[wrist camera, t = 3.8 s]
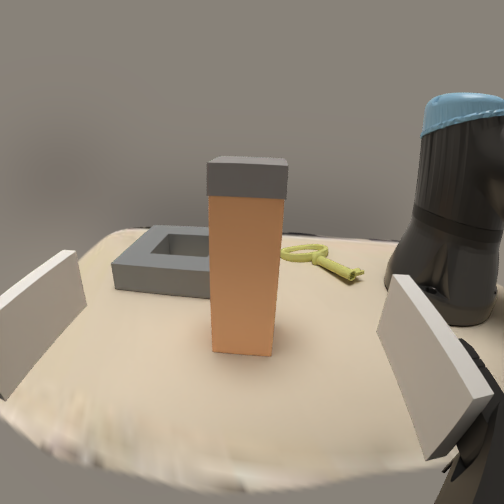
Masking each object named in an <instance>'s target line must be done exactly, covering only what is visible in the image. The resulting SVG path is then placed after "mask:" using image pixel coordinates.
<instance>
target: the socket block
mask: <svg viewBox="0 0 504 504" xmlns="http://www.w3.org/2000/svg"><path fill="white" fill-rule="evenodd" d="M111 266H112V273H113V278H114V284H115V289H121V290H130V291H138V292H147V293H156V294H166V295H176V296H186V297H197V298H209V299H210V268H209V227H189V226H166V225H154V226H152V227H151V228H150V229H149V230H148V231H147V232H145V233H144V234H143V235H142V236H141V237H140V238H139V239H138V240H136V241H135V242H134V243H133V244H132V245H131V246H130V247H129V248H127V249H126V250H125V251H124V252H123V253H122V254H121V255H120V256H119V257H118V258H116V259H115V260H114V261H113V262H112V263H111Z"/></svg>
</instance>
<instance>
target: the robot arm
mask: <svg viewBox="0 0 504 504" xmlns="http://www.w3.org/2000/svg"><path fill="white" fill-rule="evenodd" d="M420 139H422V140H421V152H420V161H419V171H418V179H417V187H416V193H415V200H414V207H413V213H412V218H411V221H410V224H409V226H408V227H407V229H406V231H405V233H404V235H403V236H402V238H401V240H400V242H399V244H398V245H397V247H396V249H395V251H394V252H393V254H392V256H391V258H390V259H389V262H388V265H387V270H386V274H385V278H384V281H385V285H386V287H387V289H388V293H387V297H386V301H385V304H384V308H383V311H382V315H381V318H380V321H379V324H378V328H377V331H376V332H377V334H378V336H379V339H380V341H381V343H382V346H383V348H384V350H385V353H386V355H387V358H388V360H389V362H390V365H391V367H392V370H393V372H394V375H395V377H396V380H397V382H398V385H399V387H400V390H401V392H402V395H403V398H404V400H405V403H406V406H407V408H408V411H409V414H410V416H411V419H412V422H413V425H414V428H415V431H416V433H417V436H418V439H419V442H420V445H421V448H422V451H423V454H424V458H425V461H428V460H432V459H436V458H440V457H444V456H446V455H447V454H448V453H449V452H450V451H451V450H452V449H453V447H454V446H455V445H457V448H458V450H459V453H458V454H457V455H456V456H455V457H454V458H453V459H452V461H451V462H450V463H449V464H448V465H447V466H446V467H445V468H444V469H443V471H442V472H443V473H445V472H446V471H447V470H448V469H449V468H450V467H451V468H450V471H449V473H448V475H447V477H446V480H445V482H444V484H443V486H442V488H441V491H440V493H439V495H438V497H437V499H436V501H435V503H434V504H504V393H503V392H502V390H501V388H500V387H499V385H498V384H497V382H496V381H495V379H494V378H493V376H492V375H491V373H490V372H489V370H488V369H487V367H486V368H485V364H484V363H483V361H482V360H481V359H479V358H480V357H479V355H478V354H477V353H476V351H475V350H474V348H473V347H472V346H471V345H469V344H468V343H467V342H466V341H464V340H463V339H462V338H461V339H458V338H457V337H456V335H455V334H454V332H453V331H452V330H451V328H450V327H449V326H448V324H451V325H460V326H468V325H476V324H479V323H482V322H484V321H485V320H486V319H488V317H489V316H490V314H491V311H492V309H493V306H494V304H495V301H496V298H497V287H496V283H497V276H498V264H499V247H500V242H501V238H502V234H503V230H504V99H501V98H500V97H497V96H492V95H487V94H478V93H450V94H443V95H440V96H437V97H435V98H433V99H431V100H430V101H429V102H428V103H427V105H426V108H425V113H424V121H423V130H422V133H421V135H420ZM86 306H87V303H86V299H85V294H84V290H83V285H82V280H81V275H80V270H79V265H78V259H77V253H76V251H71V250H63V251H61V252H59V253H58V254H57V255H55V256H54V257H52V258H51V259H49V260H48V261H46V262H45V263H44V264H42V265H41V266H40V267H38V268H37V269H35V270H34V271H32V272H31V273H30V274H28V275H27V276H26V277H24V278H23V279H22V280H20V281H19V282H18V283H16V284H15V285H14V286H13V287H11V288H10V289H9V290H7V291H6V292H5V293H4V294H2V295H1V296H0V398H1V399H2V400H4V401H7V399H8V398H9V397H10V395H11V394H12V393H13V391H14V390H15V389H16V388H17V386H18V385H19V384H20V382H21V381H22V380H23V379H24V377H25V376H26V375H27V374H28V372H29V371H30V370H31V369H32V368H33V366H34V365H35V364H36V363H37V361H38V360H39V359H40V358H41V357H42V356H43V354H44V353H45V352H46V351H47V350H48V348H49V347H50V346H51V345H52V344H53V343H54V342H55V340H56V339H57V338H58V337H59V336H60V335H61V334H62V332H63V331H64V330H65V329H66V328H67V327H68V326H69V325H70V323H71V322H72V321H73V320H74V319H75V318H76V317H77V316H78V315H79V314H80V312H81V311H82V310H83V309H84V308H85V307H86Z"/></svg>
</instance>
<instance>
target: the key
mask: <svg viewBox="0 0 504 504" xmlns="http://www.w3.org/2000/svg"><path fill="white" fill-rule="evenodd" d="M305 249H314V250H320V251H316V252H310V253H300V254H293V253H289V252H292V251H297V250H305ZM327 255H328V247H327V246H325V245H320V244H308V245H299V246H292V247H287V248H283V249H281V253H280V257H281V258H282V259H284V260H286V261H291V262H310V261H312V263H313V265H320V266H322V267H324V268H326V269H328V270H330V271H332V272H334V273H336V274H338V275H340V276H342V277H344V278H346V279H348V280H350V281H353V280H354V279H355V277H356V276H359V275H362V274H364V270H360V269H359V268H356V269H352V270H351V269H349V268H347V267H345V266H343V265H340V264H338V263H336V262H334V261H332V260H330V259H327V258H325V257H326V256H327Z"/></svg>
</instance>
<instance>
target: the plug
mask: <svg viewBox="0 0 504 504" xmlns="http://www.w3.org/2000/svg"><path fill="white" fill-rule="evenodd" d="M287 180H288V164H287V162H286V159H279V158H263V157H262V158H261V157H238V156H237V157H236V156H220V157H217V158H215V159H214V160H211V161H209V162H207V196H209V268H210V302H211V327H212V348H213V352H221V353H232V354H244V355H258V356H271V352H272V342H273V332H274V322H275V311H276V300H277V289H278V277H279V265H280V253H281V240H282V227H283V226H282V225H283V212H284V199H286V194H287Z"/></svg>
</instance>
